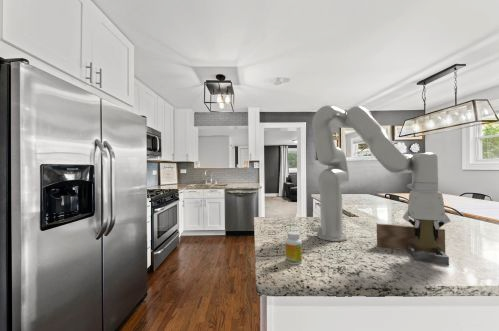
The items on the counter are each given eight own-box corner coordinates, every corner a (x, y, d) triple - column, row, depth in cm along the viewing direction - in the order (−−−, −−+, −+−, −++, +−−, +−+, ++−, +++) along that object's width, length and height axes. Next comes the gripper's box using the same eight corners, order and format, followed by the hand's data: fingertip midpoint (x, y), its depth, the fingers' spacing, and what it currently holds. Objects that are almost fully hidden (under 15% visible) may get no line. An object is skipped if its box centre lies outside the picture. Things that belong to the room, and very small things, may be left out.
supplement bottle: (298, 266, 76) (298, 236, 76) (283, 262, 79) (282, 233, 79) (304, 260, 81) (303, 232, 81) (289, 257, 84) (289, 230, 84)
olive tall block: (440, 248, 81) (439, 216, 81) (420, 247, 82) (419, 215, 82) (430, 243, 87) (430, 212, 87) (412, 242, 88) (411, 212, 88)
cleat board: (379, 256, 85) (379, 230, 85) (376, 245, 97) (376, 223, 97) (457, 266, 76) (457, 237, 76) (444, 253, 88) (443, 228, 88)
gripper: (399, 187, 85) (400, 239, 84) (458, 189, 78) (460, 245, 77) (396, 186, 92) (397, 234, 91) (450, 187, 85) (451, 238, 84)
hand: (426, 238), depth 84 cm, fingers closed on olive tall block, 3 cm apart
